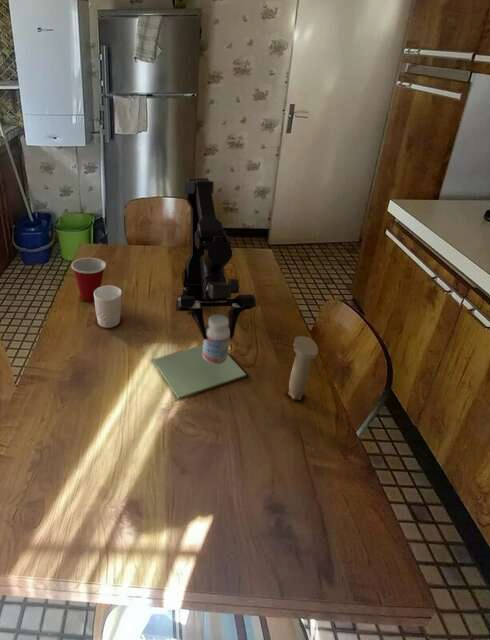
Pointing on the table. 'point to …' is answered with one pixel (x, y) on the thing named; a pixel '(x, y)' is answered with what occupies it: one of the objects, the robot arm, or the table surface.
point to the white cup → (108, 305)
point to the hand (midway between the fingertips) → (218, 339)
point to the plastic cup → (88, 276)
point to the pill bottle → (216, 339)
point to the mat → (195, 372)
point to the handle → (301, 365)
